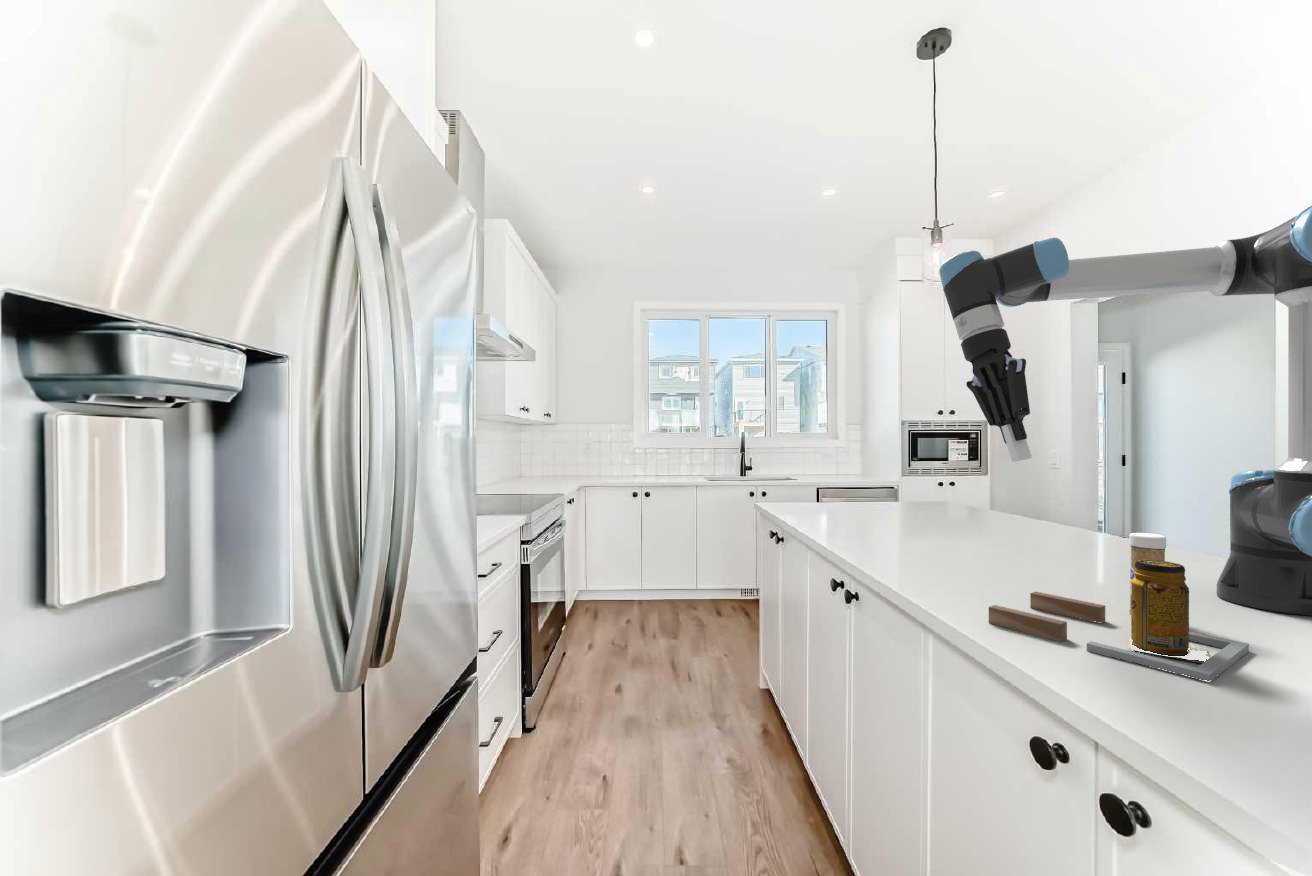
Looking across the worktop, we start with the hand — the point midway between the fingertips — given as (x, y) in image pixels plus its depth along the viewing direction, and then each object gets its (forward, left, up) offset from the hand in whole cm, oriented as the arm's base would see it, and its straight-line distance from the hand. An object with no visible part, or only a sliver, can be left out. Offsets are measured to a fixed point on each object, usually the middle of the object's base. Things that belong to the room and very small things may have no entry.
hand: (1022, 459), depth 102 cm
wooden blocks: (+8, +7, -25) cm, 27 cm away
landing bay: (+8, +21, -25) cm, 34 cm away
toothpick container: (-8, +15, -25) cm, 31 cm away
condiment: (+8, +22, -25) cm, 35 cm away
